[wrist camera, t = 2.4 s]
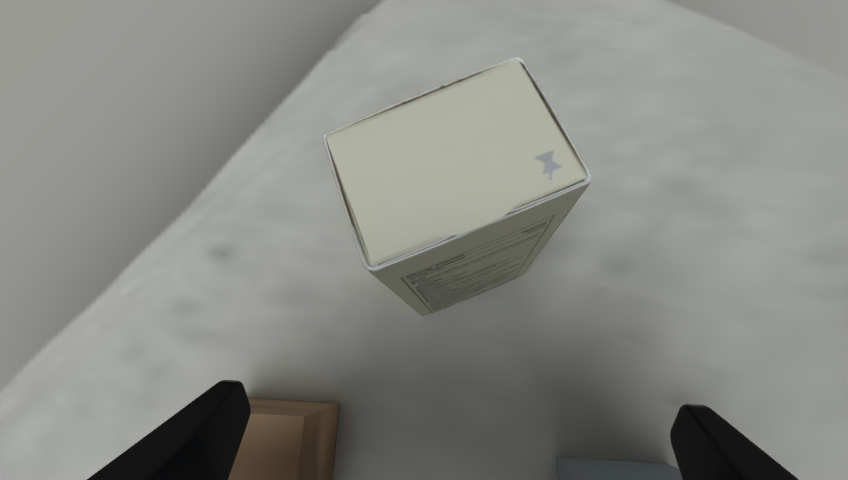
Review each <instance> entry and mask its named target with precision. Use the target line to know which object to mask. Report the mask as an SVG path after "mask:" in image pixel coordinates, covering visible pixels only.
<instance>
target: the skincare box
mask: <svg viewBox="0 0 848 480" xmlns="http://www.w3.org/2000/svg"><path fill="white" fill-rule="evenodd" d="M323 143H324V146H325V149H326V152H327V155H328V158H329V162H330V165H331V169H332V172H333V176H334V179H335V183H336V186H337V189H338V193H339V196H340V198H341V202H342V204H343V208H344V211H345V214H346V217H347V220H348V224H349V227H350V229H351V232H352V235H353V238H354V241H355V244H356V247H357V250H358V253H359V256H360V258H361V261H362V264H363V266H364V268H365V269H366V270H368V271H369V272H370V273H371V274H372V275H374V276H375V277H376V278H377V279H379V280H380V281H381V282H382V283H383V284H385V285H386V286H387V287H388V288H389V289H391V290H392V291H393V292H394V293H395V294H397V295H398V296H399V297H400V298H401V299H402V300H404V301H405V302H406V303H407V304H409V305H410V306H411V307H412V308H413V309H415V310H416V311H417V312H418V313H419V314H420V315H426V314H429V313H432V312H434V311H437V310H440V309H442V308H445V307H448V306H450V305H453V304H455V303H458V302H460V301H463V300H465V299H468V298H470V297H472V296H475V295H477V294H480V293H482V292H484V291H487V290H489V289H491V288H494V287H496V286H498V285H501V284H503V283H505V282H507V281H509V280H512V279H514V278H516V277H518V276H520V275H522V274H524V273H525V271H526V270H527V269H528V267H529V266H530V264H531V263H532V262H533V260H534V259H535V258H536V256H537V255H538V253H539V252H540V251H541V249H542V248H543V247H544V245H545V244H546V243H547V241H548V240H549V238H550V237H551V236H552V234H553V233H554V232H555V230H556V229H557V228H558V227H559V225H560V224H561V222H562V221H563V220H564V218H565V217H566V216H567V214H568V213H569V211H570V210H571V209H572V207H573V206H574V205H575V203H576V202H577V200H578V199H579V198H580V196H581V195H582V193H583V192H584V191H585V190H586V188H587V187H588V185H589V184H590V183H591V180H592V177H591V174H590V173H589V171H588V169H587V167H586V166H585V164H584V162H583V161H582V159H581V157H580V155H579V153H578V151H577V149H576V147H575V146H574V144H573V143H572V141H571V139H570V137H569V135H568V133H567V131H566V130H565V128H564V126H563V125H562V123H561V121H560V120H559V118H558V116H557V114H556V113H555V111H554V109H553V107H552V105H551V104H550V102H549V100H548V99H547V97H546V95H545V94H544V92H543V90H542V88H541V87H540V85H539V84H538V82H537V80H536V79H535V78H534V76H533V75H532V74H531V72H530V70H529V69H528V67H527V65H526V64H525V62H524V61H523V60H522V58H519V57H516V58H511V59H509V60H506V61H504V62H501V63H497V64H494V65H492V66H489V67H486V68H484V69H480V70H477V71H475V72H473V73H470V74H467V75H465V76H462V77H460V78H456V79H454V80H452V81H449V82H447V83H444V84H442V85H439V86H437V87H435V88H432V89H429V90H427V91H424V92H422V93H419V94H417V95H415V96H412V97H410V98H408V99H405V100H403V101H400V102H398V103H395V104H393V105H391V106H388V107H386V108H384V109H381V110H379V111H376V112H374V113H372V114H370V115H367V116H365V117H363V118H361V119H358V120H356V121H354V122H351V123H349V124H347V125H345V126H343V127H340V128H338V129H336V130H333V131H331V132H328V133H326V134H325V135H324V136H323Z"/></svg>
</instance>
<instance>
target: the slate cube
mask: <svg viewBox="0 0 848 480" xmlns="http://www.w3.org/2000/svg"><path fill="white" fill-rule="evenodd" d="M557 477H558V480H683V479H682V476H681V473H680V470H679V469H677V468H675V467H673V466H671V465H669V464H666V463H650V462H634V461H617V460H601V459H585V458H569V457H557Z"/></svg>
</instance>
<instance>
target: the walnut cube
mask: <svg viewBox="0 0 848 480" xmlns="http://www.w3.org/2000/svg"><path fill="white" fill-rule="evenodd" d="M248 400H249V403H250V406H251V413H250V418H249V421H248V424H247V427H246V430H245V433H244V435H243V438H242V441H241V444H240V447H239V450H238V453H237V456H236V459H235V461H234V464H233V467H232V470H231V473H230V476H229V479H228V480H333V471H334V460H335V449H336V438H337V428H338V417H339V406H340V403H328V402H309V401H290V400H271V399H252V398H248Z"/></svg>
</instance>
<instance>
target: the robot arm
mask: <svg viewBox="0 0 848 480" xmlns="http://www.w3.org/2000/svg"><path fill="white" fill-rule="evenodd" d="M250 413H251V406H250V403H249V400H248V397H247V394H246V391H245V388H244V386H243V384H242V383H241V382H240V381H234V380H223V381H220V382H218V383H217V384H215V385H214V386H213V387H211V388H210V389H209V390H207V391H206V392H205V393H203V394H202V395H200V396H199V397H198V398H196V399H195V400H194V401H192V402H191V403H190V404H188V405H187V406H186V407H184V408H183V409H182V410H180V411H179V412H178V413H176V414H175V415H174V416H172V417H171V418H169V419H168V420H167V421H165V422H164V423H163V424H161V425H160V426H159V427H157V428H156V429H155V430H153V431H152V432H151V433H149V434H148V435H147V436H145V437H144V438H143V439H141V440H140V441H138V442H137V443H136V444H134V445H133V446H132V447H130V448H129V449H128V450H126V451H125V452H124V453H122V454H121V455H120V456H118V457H117V458H116V459H114V460H113V461H112V462H110V463H109V464H107V465H106V466H105V467H103V468H102V469H101V470H99V471H98V472H97V473H95V474H94V475H93V476H91V477H90V478H89V479H87V480H228V479H229V476H230V473H231V470H232V467H233V464H234V461H235V459H236V456H237V453H238V450H239V447H240V444H241V441H242V438H243V435H244V433H245V430H246V427H247V424H248V421H249V418H250ZM670 439H671V444H672V447H673V450H674V453H675V457H676V460H677V463H678V466H679V470H680V473H681V476H682V479H683V480H798V479H797V478H796V477H795V476H793V475H792V474H791V473H790V472H789V471H787V470H786V469H785V468H784V467H782V466H781V465H780V464H779V463H777V462H776V461H775V460H774V459H772V458H771V457H770V456H769V455H768V454H766V453H765V452H764V451H763V450H761V449H760V448H759V447H758V446H756V445H755V444H754V443H753V442H751V441H750V440H749V439H748V438H747V437H745V436H744V435H743V434H742V433H740V432H739V431H738V430H737V429H735V428H734V427H733V426H732V425H730V424H729V423H728V422H727V421H726V420H724V419H723V418H722V417H721V416H719V415H718V414H717V413H716V412H714V411H713V410H712V409H710V408H709V407H707V406H704V405H693V404H684V405H683V406H681V407H680V409H679V412H678V414H677V417H676V419H675V421H674V424H673V426H672V429H671V433H670Z"/></svg>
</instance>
